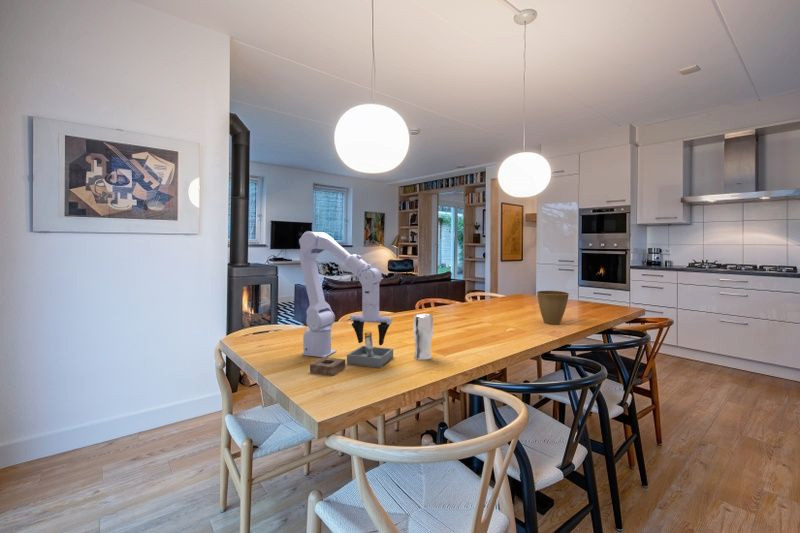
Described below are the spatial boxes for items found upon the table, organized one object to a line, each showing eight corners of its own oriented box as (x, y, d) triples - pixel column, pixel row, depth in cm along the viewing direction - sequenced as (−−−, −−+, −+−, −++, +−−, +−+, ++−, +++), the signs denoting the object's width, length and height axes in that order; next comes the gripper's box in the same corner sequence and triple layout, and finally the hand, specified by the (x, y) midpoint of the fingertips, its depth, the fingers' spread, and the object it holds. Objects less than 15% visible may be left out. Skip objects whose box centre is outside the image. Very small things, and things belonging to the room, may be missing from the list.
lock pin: (365, 359, 122) (363, 333, 122) (369, 357, 124) (366, 332, 124) (371, 360, 121) (369, 334, 120) (375, 357, 123) (372, 332, 123)
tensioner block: (310, 372, 111) (309, 364, 111) (323, 364, 119) (323, 356, 119) (332, 375, 109) (332, 367, 109) (345, 367, 116) (345, 359, 116)
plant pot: (532, 320, 193) (533, 290, 192) (561, 320, 191) (562, 290, 191) (540, 326, 178) (541, 293, 177) (572, 326, 177) (573, 294, 176)
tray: (346, 363, 119) (346, 354, 119) (362, 353, 131) (362, 345, 131) (380, 368, 115) (380, 358, 115) (393, 357, 127) (393, 348, 127)
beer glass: (427, 362, 122) (427, 318, 121) (409, 358, 125) (409, 315, 124) (436, 356, 128) (436, 314, 127) (419, 353, 131) (419, 312, 130)
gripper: (346, 304, 121) (346, 344, 121) (386, 306, 116) (386, 348, 117) (355, 301, 127) (355, 339, 128) (394, 303, 123) (393, 343, 123)
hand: (370, 343), depth 123 cm, fingers open, 7 cm apart
